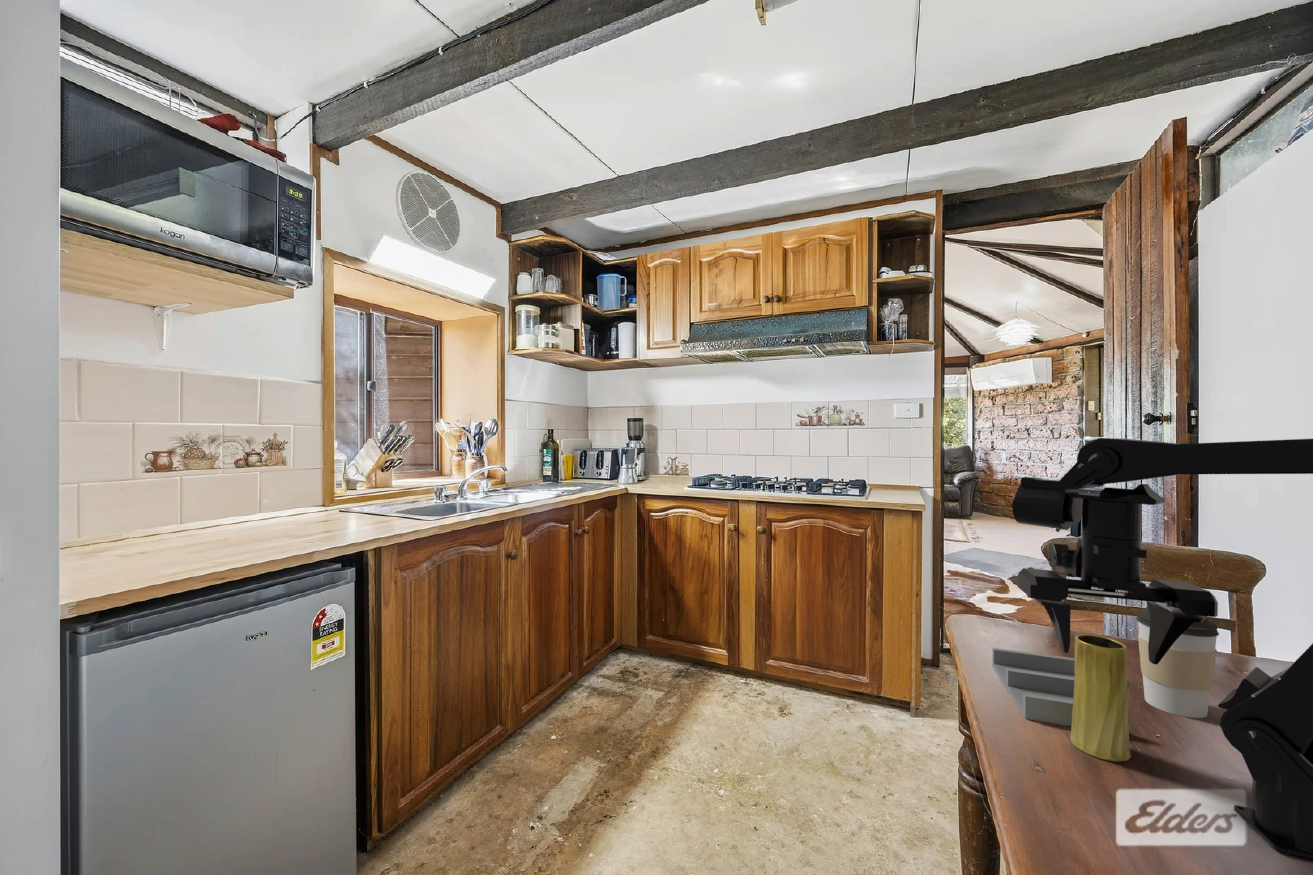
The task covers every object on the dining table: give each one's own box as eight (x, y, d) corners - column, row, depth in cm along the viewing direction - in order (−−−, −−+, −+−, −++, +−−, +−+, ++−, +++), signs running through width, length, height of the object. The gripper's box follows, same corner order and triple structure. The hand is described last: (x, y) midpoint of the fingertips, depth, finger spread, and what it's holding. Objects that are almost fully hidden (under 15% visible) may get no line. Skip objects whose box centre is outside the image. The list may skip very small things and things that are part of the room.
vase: (1060, 741, 70) (1061, 636, 70) (1085, 731, 73) (1086, 629, 73) (1115, 767, 65) (1116, 653, 65) (1140, 755, 67) (1141, 645, 67)
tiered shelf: (1127, 735, 72) (1128, 712, 72) (1025, 718, 76) (1025, 696, 76) (1072, 677, 90) (1073, 658, 90) (992, 665, 94) (992, 647, 94)
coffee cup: (1236, 725, 75) (1237, 621, 75) (1162, 718, 77) (1163, 616, 77) (1186, 695, 84) (1187, 602, 84) (1121, 689, 86) (1122, 598, 86)
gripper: (1165, 530, 71) (1162, 644, 71) (1006, 521, 77) (1004, 625, 77) (1222, 547, 60) (1219, 680, 60) (1033, 534, 67) (1030, 655, 67)
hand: (1108, 657), depth 66 cm, fingers open, 9 cm apart
